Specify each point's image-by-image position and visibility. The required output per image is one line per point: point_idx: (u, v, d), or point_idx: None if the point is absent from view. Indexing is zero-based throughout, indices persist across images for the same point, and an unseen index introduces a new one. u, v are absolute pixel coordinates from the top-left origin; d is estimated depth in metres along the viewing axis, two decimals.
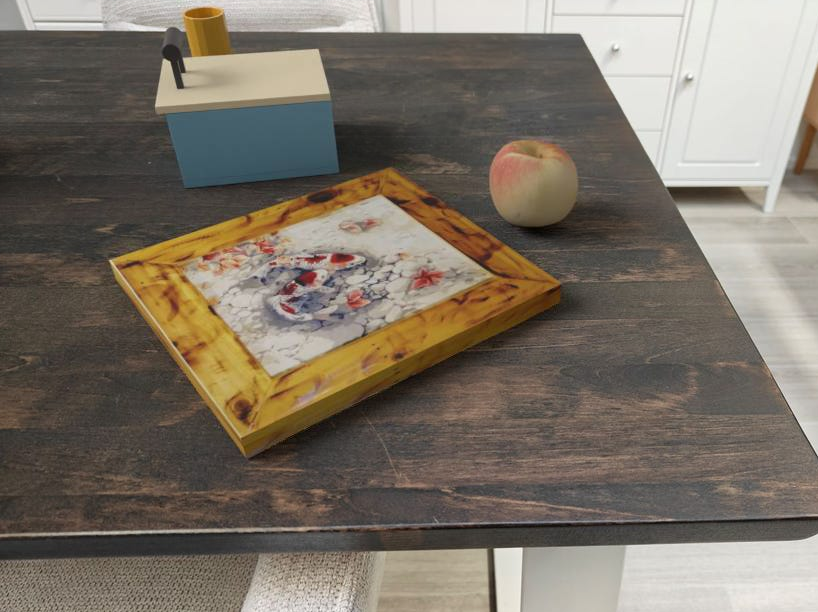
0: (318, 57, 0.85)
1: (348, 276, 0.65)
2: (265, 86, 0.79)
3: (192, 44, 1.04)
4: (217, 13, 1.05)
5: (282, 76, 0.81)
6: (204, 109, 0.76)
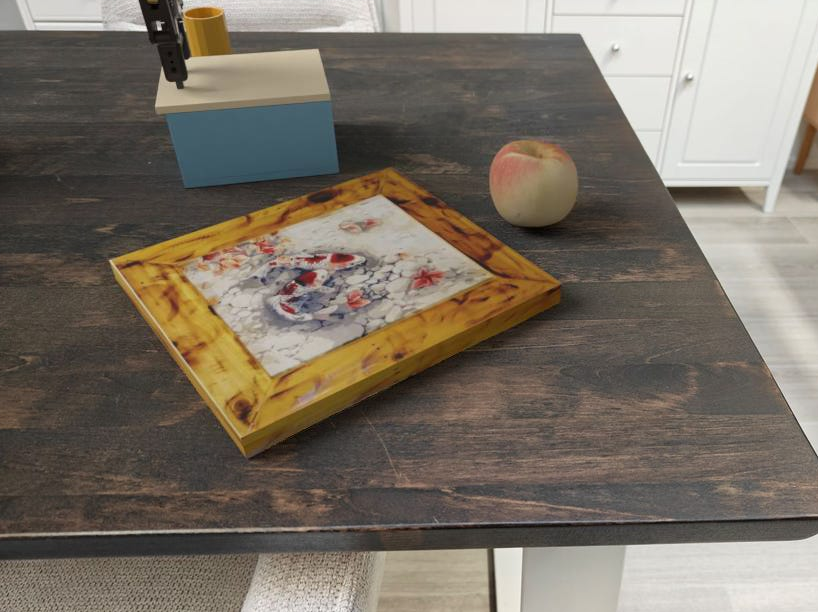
0: (318, 57, 0.85)
1: (348, 276, 0.65)
2: (265, 86, 0.79)
3: (192, 44, 1.04)
4: (217, 13, 1.05)
5: (282, 76, 0.81)
6: (204, 109, 0.76)
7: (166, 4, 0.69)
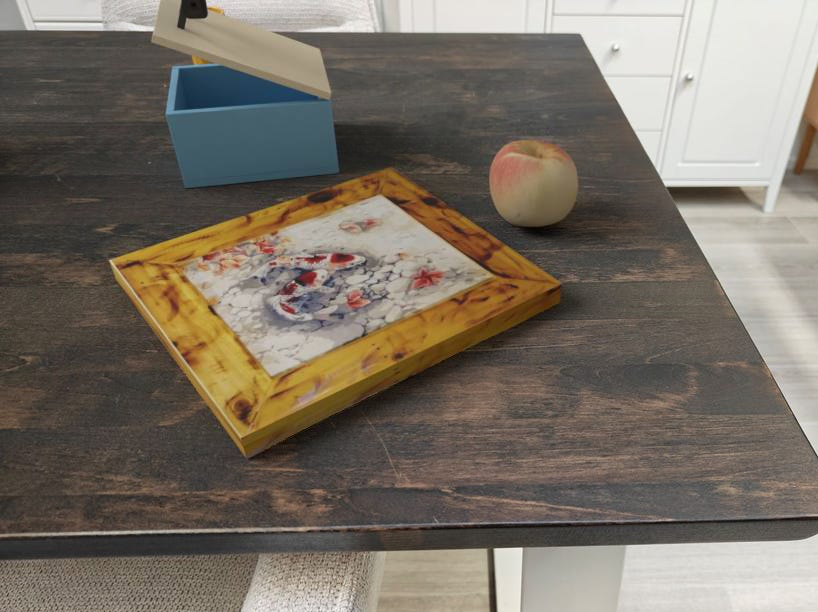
0: (320, 56, 0.85)
1: (348, 276, 0.65)
2: (268, 61, 0.77)
3: None
4: None
5: (284, 59, 0.80)
6: (203, 57, 0.72)
7: None
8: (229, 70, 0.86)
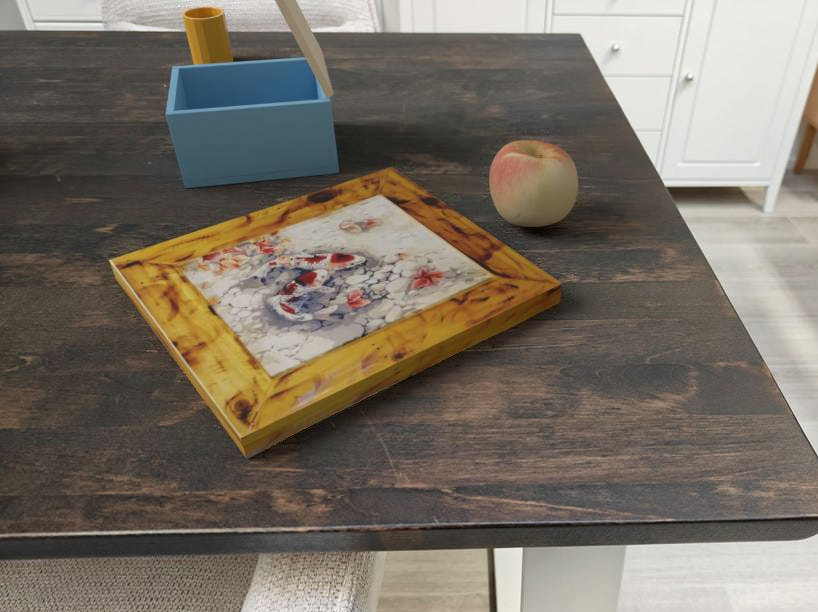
0: (323, 57, 0.85)
1: (348, 276, 0.65)
2: (301, 27, 0.76)
3: (192, 44, 1.04)
4: (217, 13, 1.05)
5: (308, 36, 0.79)
6: None
7: None
8: (229, 70, 0.86)
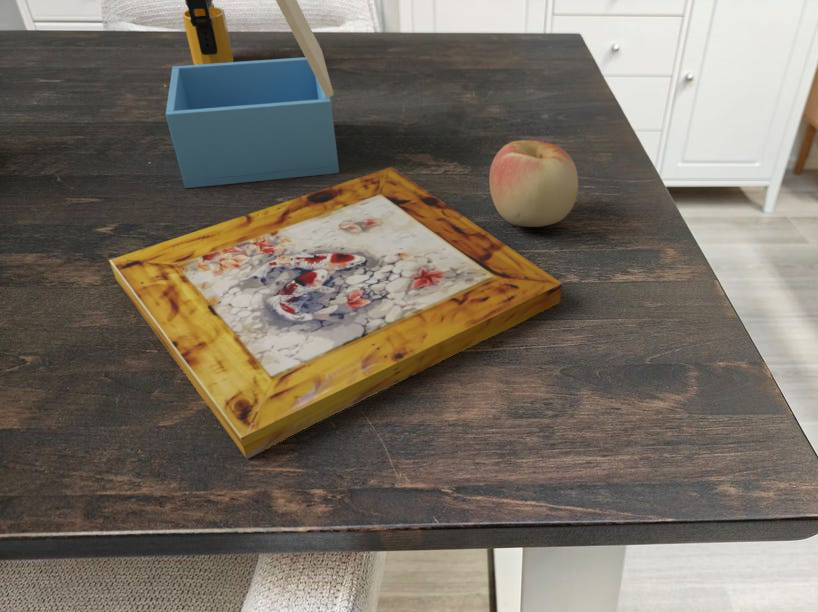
0: (323, 57, 0.85)
1: (348, 276, 0.65)
2: (301, 26, 0.76)
3: (192, 44, 1.04)
4: (217, 13, 1.05)
5: (308, 36, 0.79)
6: None
7: None
8: (229, 70, 0.86)
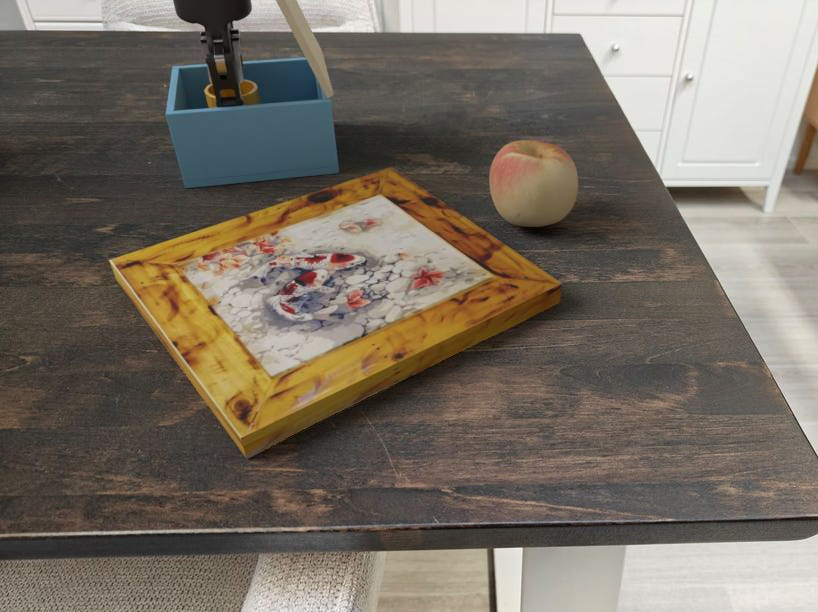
0: (323, 57, 0.85)
1: (348, 276, 0.65)
2: (301, 26, 0.76)
3: None
4: (248, 87, 0.83)
5: (308, 36, 0.79)
6: None
7: (234, 75, 0.74)
8: None
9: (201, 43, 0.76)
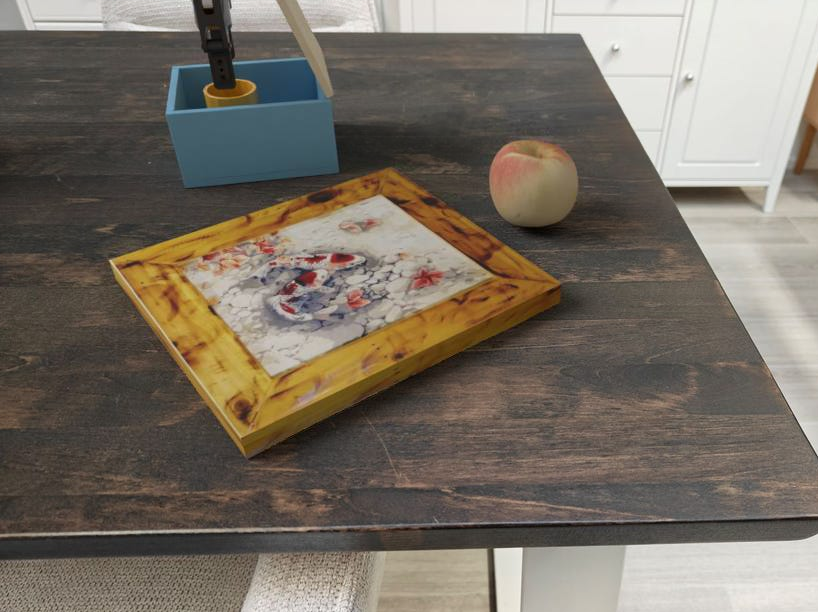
0: (323, 57, 0.85)
1: (348, 276, 0.65)
2: (301, 26, 0.76)
3: None
4: (247, 87, 0.83)
5: (308, 36, 0.79)
6: None
7: (221, 9, 0.70)
8: None
9: None
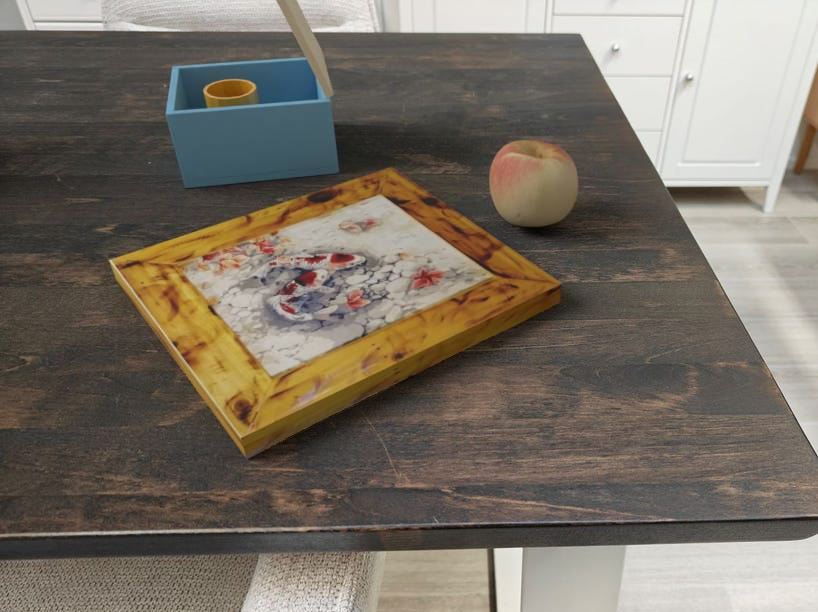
0: (323, 57, 0.85)
1: (348, 276, 0.65)
2: (301, 26, 0.76)
3: None
4: (247, 87, 0.83)
5: (308, 36, 0.79)
6: None
7: None
8: (229, 70, 0.86)
9: None
